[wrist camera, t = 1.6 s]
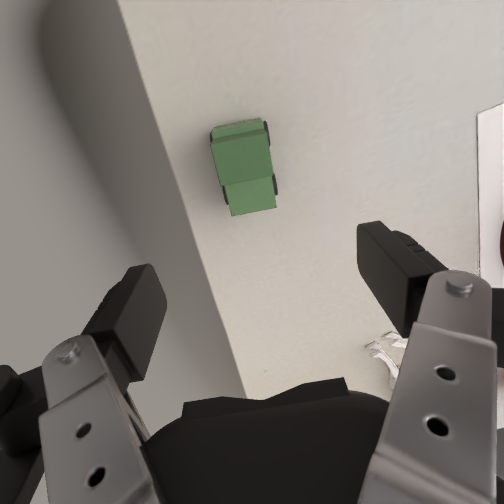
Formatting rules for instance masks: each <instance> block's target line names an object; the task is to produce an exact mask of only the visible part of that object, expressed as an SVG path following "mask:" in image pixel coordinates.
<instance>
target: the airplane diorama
mask: <svg viewBox="0 0 504 504" xmlns="http://www.w3.org/2000/svg"><path fill="white" fill-rule="evenodd" d="M478 165H479V221H480V276H481V278H483V279H484V280H485V281H487V282H488V283H489V284H490V286H491V288H504V103H503V104H501V105H499V106H496V107H494V108H491V109H489V110H486V111H484V112H482V113H479V114H478Z"/></svg>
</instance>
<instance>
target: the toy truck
mask: <svg viewBox="0 0 504 504" xmlns="http://www.w3.org/2000/svg"><path fill="white" fill-rule="evenodd" d="M210 141H211V145H210V146H211V150H212V154H213V158H214V162H215V166H216V170H217V174H218V178H219V182H220V185H221V186H222V187H223V194H224V198H225V201H226V204H227V205H229V207H230V212H231V216H236V215H241V214H246V213H251V212H256V211H261V210H267V209H272V208H276V200H275V195H278V191H277V184H276V179H275V175H274V173H273V169H272V162H271V156H270V149H269V146H270V138H269V132H268V126H267V122H266V121H264V122H263V121H262V120H261V118H257V119H252V120H247V121H243V122H238V123H233V124H229V125H224V126H219V127H215V128H214V129H213V131H212V132H211V133H210Z"/></svg>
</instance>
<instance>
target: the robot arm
mask: <svg viewBox="0 0 504 504" xmlns="http://www.w3.org/2000/svg"><path fill="white" fill-rule="evenodd" d="M357 264H358V269H359V272H360V274H361V276H362V278H363V279H364V281H365V282H366V284H367V285H368V287H369V288H370V290H371V291H372V293H373V294H374V296H375V297H376V299H377V300H378V302H379V304H380V305H381V307H382V308H383V310H384V311H385V313H386V314H387V316H388V317H389V319H390V320H391V322H392V323H393V325H394V326H395V328H396V329H397V331H398V333H399V334H400V336H401V337H402V339H404V338H409V339H408V342H407V346H406V349H405V352H404V356H403V359H402V363H401V366H400V369H399V373H398V376H397V380H396V383H395V386H394V390H393V393H392V397H391V400H390V402H388V401H386V400H383V399H381V398H379V397H376V396H373V395H370V394H367V393H363V392H358V391H351V390H348V388H347V385H346V382H345V380H344V377H342V378H335V379H329V380H323V381H316V382H310V383H304V384H301V385H299V386H296V387H294V388H292V389H289V390H287V391H285V392H282V393H280V394H277V395H275V396H273V397H270V398H268V399H265V400H253V399H243V398H232V397H216V398H210V399H203V400H197V401H191V402H184V405H183V411H182V416H181V417H180V418H178V419H176V420H174V421H173V422H171V423H169V424H167V425H166V426H164V427H163V428H162V429H160V430H159V431H157V432H156V433H155V434H154V435H153V436H150V434H149V432H148V430H147V429H146V426H145V424H144V422H143V421H142V418H141V416H140V414H139V412H138V410H137V408H136V407H135V405H134V402H133V400H132V398H131V396H130V395H129V393H128V392H127V387H128V385H129V383H131V382H137V381H143V380H144V378H145V374H146V372H147V368H148V365H149V362H150V359H151V356H152V353H153V350H154V347H155V344H156V340H157V337H158V335H159V331H160V328H161V325H162V322H163V319H164V316H165V313H166V310H167V300H166V295H165V293H164V291H163V288H162V286H161V284H160V281H159V279H158V277H157V274H156V272H155V270H154V268H153V266H152V265H151V264H144V265H138V266H133V267H130V268H129V269H128V270H127V272H126V274H125V275H124V277H123V279H122V280H121V281H120V282H118V283H117V284H116V285H115V286H114V287H112V288H111V289H110V290H109V291H108V293H107V294H106V296H105V297H104V299H103V302H101V303H100V305H99V307H98V310H96V311H95V313H94V315H93V316H92V317H91V319H90V321H89V322H88V324H87V325H86V327H85V328H84V330H83V332H82V333H81V335H78V336H75V337H72V338H69V339H67V340H65V341H64V342H62V343H60V344H59V345H58V346H56V347H55V348H54V349H53V350H52V351H51V352H50V353H49V354H48V355H47V356H46V358H45V359H44V361H43V363H42V366H40V367H37V368H35V369H33V370H30V371H27V372H25V373H22V374H20V375H18V374H17V373H16V372H15V371H14V370H13V369H12V368H11V367H10V366H8V365H0V504H30V501H31V499H32V497H33V495H34V493H35V490H36V489H37V486H38V484H39V482H40V480H41V478H42V475H43V473H44V471H45V477H46V485H47V493H48V500H49V504H504V480H502V479H501V478H499V477H498V476H496V451H497V449H496V448H497V447H496V446H497V367H501V368H504V288H491V286H490V284H489V283H488V282H487V281H485V280H484V279H483V278H481V277H479V276H477V275H474V274H472V273H468V272H464V271H457V270H449V269H448V268H446V267H445V266H444V265H443V264H442V263H441V262H439V261H438V260H437V259H436V258H435V257H434V256H432V255H431V254H430V253H429V252H428V251H425V249H424V248H423V247H422V246H421V245H418V243H417V242H416V241H415V240H414V239H413V238H412V237H410V236H409V235H407V234H404V233H402V232H399V231H397V230H396V231H391V230H389V229H388V228H387V227H386V226H385V225H384V224H383V223H382V222H381V221H373V222H368V223H363V224H359V225H358V226H357Z"/></svg>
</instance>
